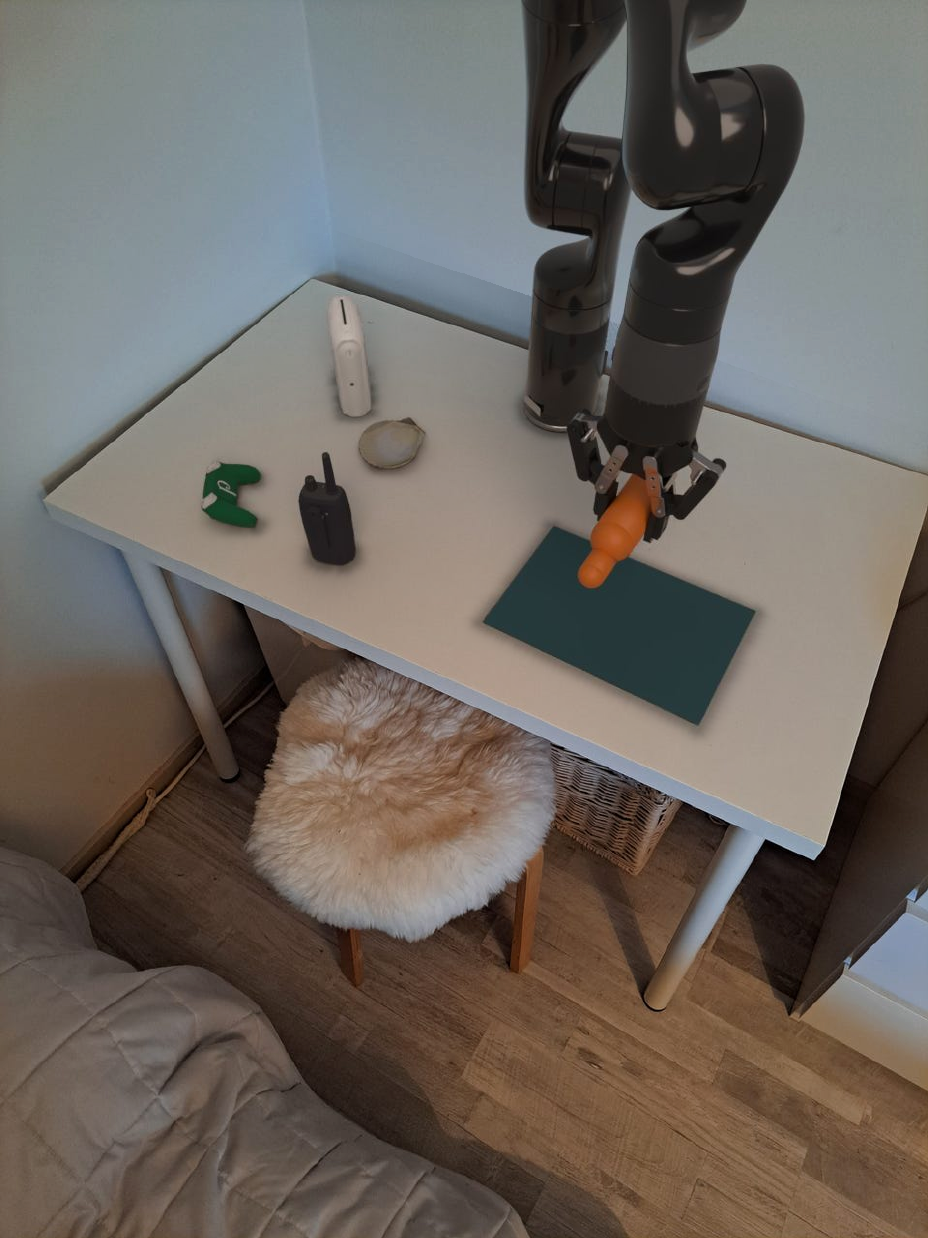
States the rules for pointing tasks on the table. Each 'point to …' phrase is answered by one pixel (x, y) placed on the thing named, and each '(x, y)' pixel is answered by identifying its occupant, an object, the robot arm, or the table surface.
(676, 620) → the cloth
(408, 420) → the seashell
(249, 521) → the gaming controller
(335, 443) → the table surface
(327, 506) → the two-way radio
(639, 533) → the carrot
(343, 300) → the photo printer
